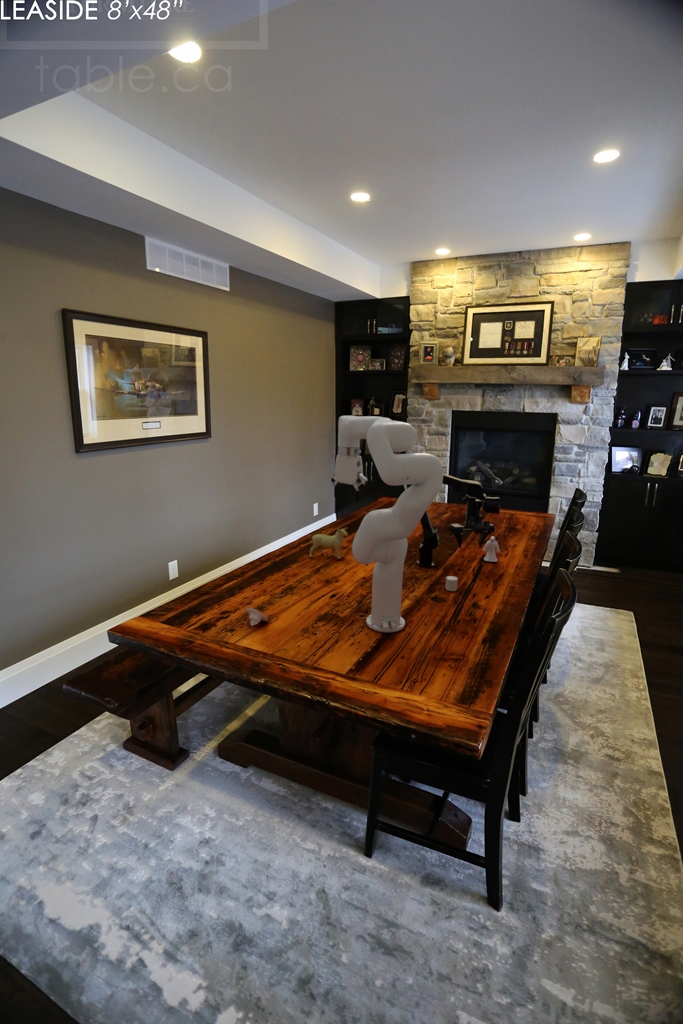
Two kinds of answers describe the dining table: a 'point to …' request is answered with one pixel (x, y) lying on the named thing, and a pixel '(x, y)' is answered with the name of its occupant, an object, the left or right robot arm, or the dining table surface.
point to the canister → (451, 583)
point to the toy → (329, 542)
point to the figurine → (491, 550)
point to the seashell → (255, 616)
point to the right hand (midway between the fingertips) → (470, 547)
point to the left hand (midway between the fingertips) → (347, 499)
